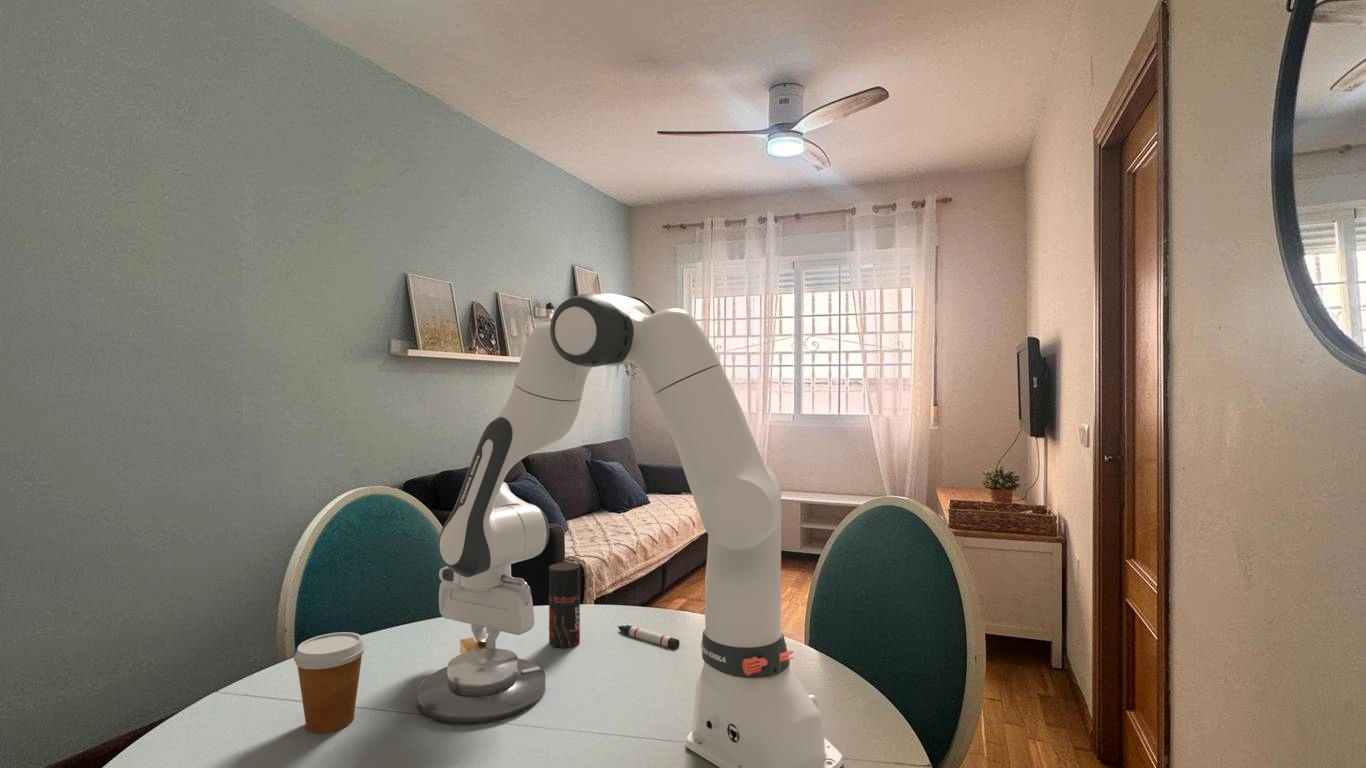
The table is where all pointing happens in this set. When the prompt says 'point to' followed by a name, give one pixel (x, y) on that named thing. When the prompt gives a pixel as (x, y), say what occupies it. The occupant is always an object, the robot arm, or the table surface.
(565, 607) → the deodorant
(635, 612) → the table surface
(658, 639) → the marker
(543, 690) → the plate
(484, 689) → the dial
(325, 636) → the disposable coffee cup
